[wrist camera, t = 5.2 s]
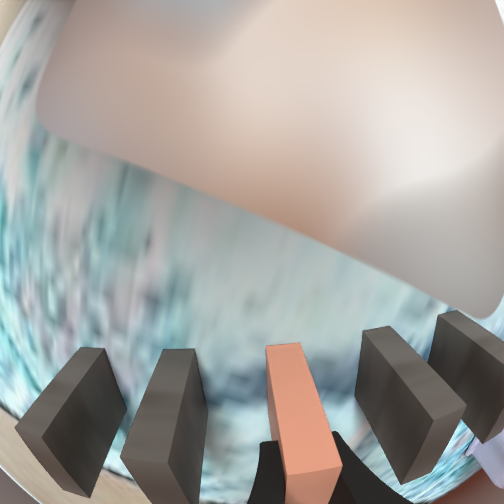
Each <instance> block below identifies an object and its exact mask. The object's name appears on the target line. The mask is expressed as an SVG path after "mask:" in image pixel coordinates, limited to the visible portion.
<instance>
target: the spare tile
mask: <svg viewBox="0 0 504 504" xmlns="http://www.w3.org/2000/svg"><path fill="white" fill-rule="evenodd" d="M266 370H267V400H268V415H269V422H270V430H271V437H272V441H276V440H278V443H279V448H280V452H281V457H282V463H283V479H284V503H285V504H328V503H329V500H330V498H331V495H332V493H333V490H334V488H335V485H336V482H337V480H338V477H339V474H340V472H341V469H342V466H343V465H342V462H341V459H340V456H339V453H338V450H337V447H336V444H335V441H334V438H333V436H332V433H331V430H330V427H329V424H328V421H327V418H326V415H325V412H324V409H323V407H322V404H321V401H320V398H319V395H318V392H317V389H316V387H315V384H314V381H313V378H312V375H311V372H310V370H309V367H308V364H307V361H306V358H305V355H304V353H303V350H302V347H301V344H300V343H291V344H281V345H269V346H266Z"/></svg>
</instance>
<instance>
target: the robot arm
mask: <svg viewBox="0 0 504 504" xmlns="http://www.w3.org/2000/svg"><path fill="white" fill-rule="evenodd" d="M331 433H332V436H333V438H334V441H335V444H336V447H337V450H338V453H339V456H340V459H341V462H342V465H343V466H342V469H341V472H340V474H339V477H338V480H337V482H336V485H335V488H334V490H333V493H332V495H331V498H330V500H329V503H328V504H414V503H412V502H410V501H409V500H407V499H405V498H404V497H402V496H401V495H400V494H398V493H397V492H395V491H394V490H393V489H391V488H390V487H389V486H387V485H386V484H385V483H384V482H383V481H381V480H380V479H379V478H378V477H377V476H376V475H375V474H374V473H373V472H372V471H371V470H370V469H369V468H368V467H367V466H366V465H365V464H364V463H363V462H362V461H361V460H360V459H359V458H358V457H357V456H356V455H355V454H354V452H353V451H352V450H351V449H350V448H349V446H348V445H347V444H346V443H345V441H344V440H343V439H342V437H341V436H340V435H339V433H338V432H336V431H333V432H331ZM470 454H473V456H474V457H475V458H476V460H477V461H478V462H479V464H480V465H481V467H482V468H483V469H484V471H485V472H486V473H487V475H488V476H489V477H490V479H491V480H492V482H493V483H494V484H496V485H497V486H498V487H500V488H504V429H503V430H502V432H501V433H499V434H498V435H497V436H495V437H494V438H492V439H490V440H489V441H487V442H486V443H484V444H483V445H482V443H481V442H480V441H479V440H478V438H477V437H476V436H475V438H474V440H473V441H472V443H471V445H470V446H469V448H468V450H467V451H466V453H465V455H466V456H469V455H470ZM247 504H285V503H284V479H283V463H282V457H281V452H280V448H279V443H278V440H276V441H266V442H262V443H260V454H259V462H258V468H257V473H256V477H255V481H254V484H253V488H252V491H251V494H250V497H249V500H248V502H247Z"/></svg>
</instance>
